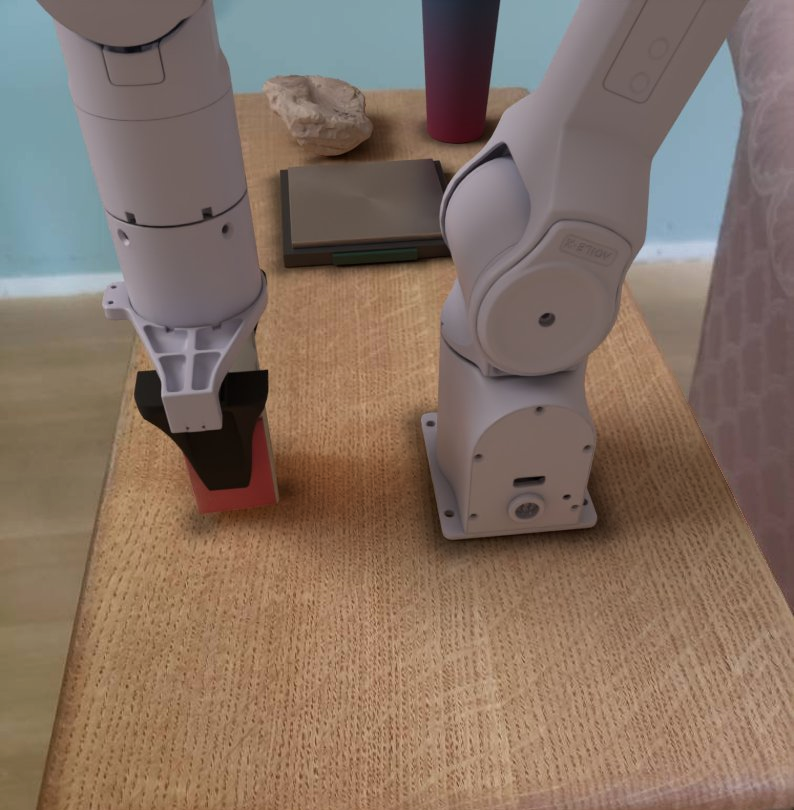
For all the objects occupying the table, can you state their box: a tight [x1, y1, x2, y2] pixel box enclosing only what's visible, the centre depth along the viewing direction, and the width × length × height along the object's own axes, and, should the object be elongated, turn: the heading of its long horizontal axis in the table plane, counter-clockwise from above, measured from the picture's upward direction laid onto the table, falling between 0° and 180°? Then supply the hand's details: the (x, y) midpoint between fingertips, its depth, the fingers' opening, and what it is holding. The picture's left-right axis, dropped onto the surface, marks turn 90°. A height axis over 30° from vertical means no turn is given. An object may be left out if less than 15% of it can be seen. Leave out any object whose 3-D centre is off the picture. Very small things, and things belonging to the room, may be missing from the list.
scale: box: [279, 158, 452, 268], centre depth 65 cm, size 13×13×2 cm
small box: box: [182, 329, 280, 515], centre depth 43 cm, size 5×4×8 cm
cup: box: [421, 0, 501, 144], centre depth 70 cm, size 7×7×15 cm
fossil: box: [262, 74, 374, 157], centre depth 73 cm, size 9×6×10 cm
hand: (229, 444), depth 44 cm, fingers closed on small box, 5 cm apart
